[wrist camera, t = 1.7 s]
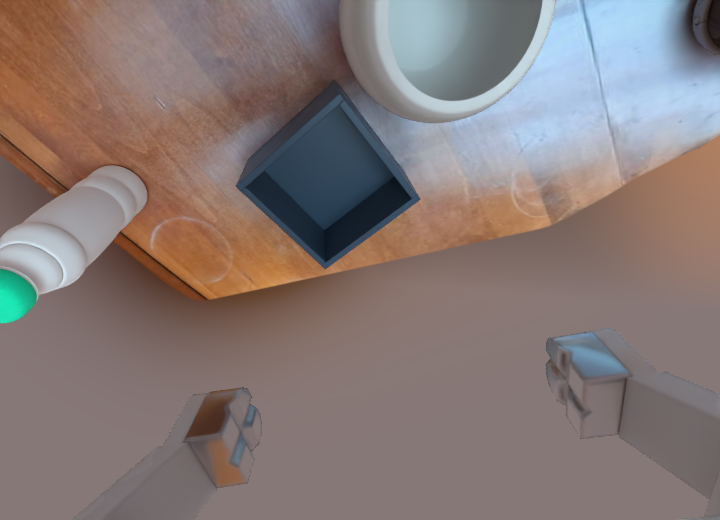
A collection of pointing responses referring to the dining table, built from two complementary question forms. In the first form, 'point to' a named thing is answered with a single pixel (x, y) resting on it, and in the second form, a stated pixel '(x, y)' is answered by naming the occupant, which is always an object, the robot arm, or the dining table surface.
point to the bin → (327, 178)
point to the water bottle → (65, 237)
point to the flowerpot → (707, 24)
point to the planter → (442, 52)
